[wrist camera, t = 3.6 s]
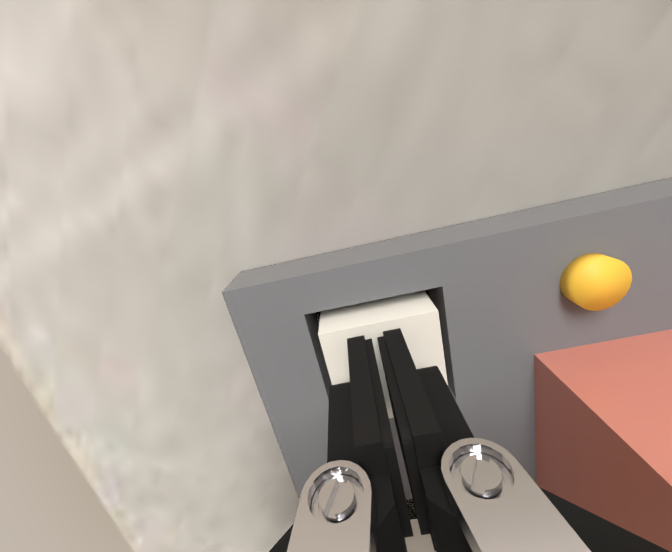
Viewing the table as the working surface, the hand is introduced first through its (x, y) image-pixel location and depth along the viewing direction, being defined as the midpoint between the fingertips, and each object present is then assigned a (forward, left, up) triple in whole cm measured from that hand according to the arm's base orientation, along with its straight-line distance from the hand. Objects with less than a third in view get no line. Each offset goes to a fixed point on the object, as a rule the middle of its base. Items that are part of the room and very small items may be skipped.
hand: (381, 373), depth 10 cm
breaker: (0, 0, -2) cm, 2 cm away
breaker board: (-4, +5, -3) cm, 7 cm away
